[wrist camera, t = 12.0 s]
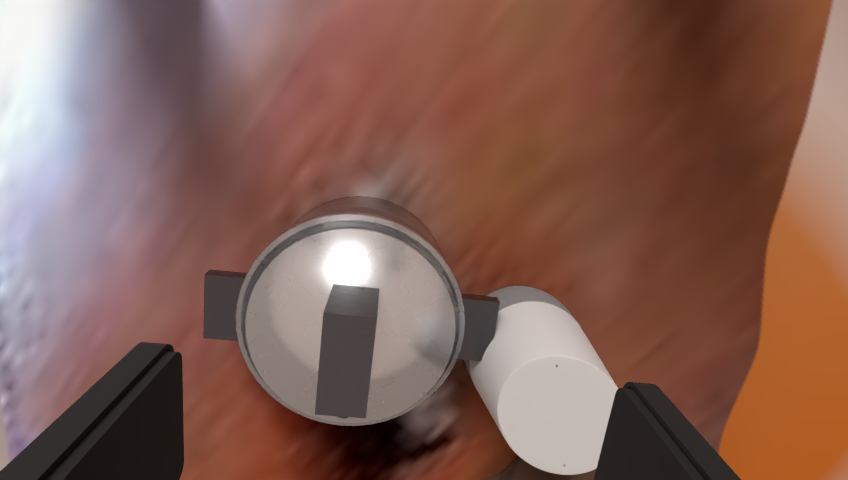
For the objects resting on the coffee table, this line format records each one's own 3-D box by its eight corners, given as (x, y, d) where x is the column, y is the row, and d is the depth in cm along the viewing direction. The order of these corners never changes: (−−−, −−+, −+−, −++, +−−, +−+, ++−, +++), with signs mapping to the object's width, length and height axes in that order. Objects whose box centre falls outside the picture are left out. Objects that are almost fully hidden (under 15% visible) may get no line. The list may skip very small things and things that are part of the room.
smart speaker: (451, 284, 41) (480, 367, 27) (560, 268, 41) (642, 343, 28) (464, 384, 43) (496, 507, 30) (566, 369, 44) (645, 483, 30)
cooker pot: (488, 206, 39) (516, 232, 31) (463, 370, 43) (481, 435, 34) (244, 179, 38) (199, 197, 29) (237, 352, 41) (196, 415, 32)
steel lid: (254, 215, 29) (224, 236, 24) (467, 238, 31) (483, 264, 25) (245, 406, 33) (216, 463, 27) (439, 420, 34) (448, 478, 28)
